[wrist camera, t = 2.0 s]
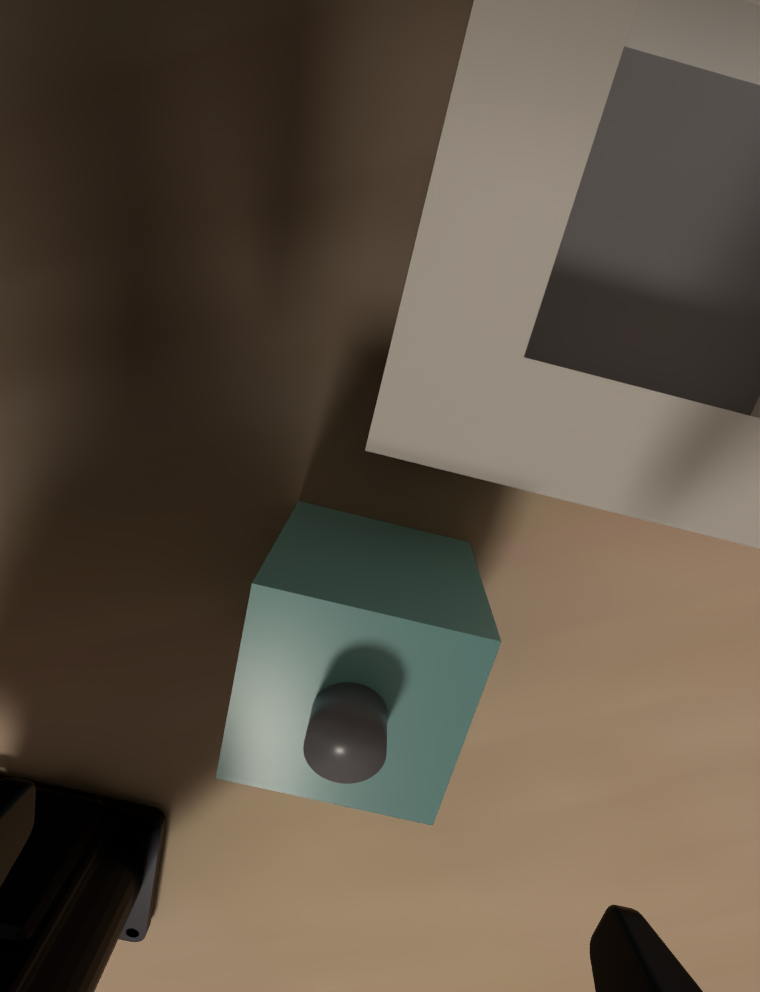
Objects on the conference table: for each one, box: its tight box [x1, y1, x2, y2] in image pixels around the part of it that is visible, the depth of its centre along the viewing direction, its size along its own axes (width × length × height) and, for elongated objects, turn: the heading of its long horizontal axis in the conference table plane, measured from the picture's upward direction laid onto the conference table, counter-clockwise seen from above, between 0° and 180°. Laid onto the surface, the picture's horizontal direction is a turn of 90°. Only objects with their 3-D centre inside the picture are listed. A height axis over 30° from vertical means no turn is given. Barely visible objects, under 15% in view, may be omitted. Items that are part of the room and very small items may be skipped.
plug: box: [216, 501, 501, 825], centre depth 13 cm, size 5×5×6 cm
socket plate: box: [365, 0, 760, 548], centre depth 11 cm, size 12×12×2 cm
